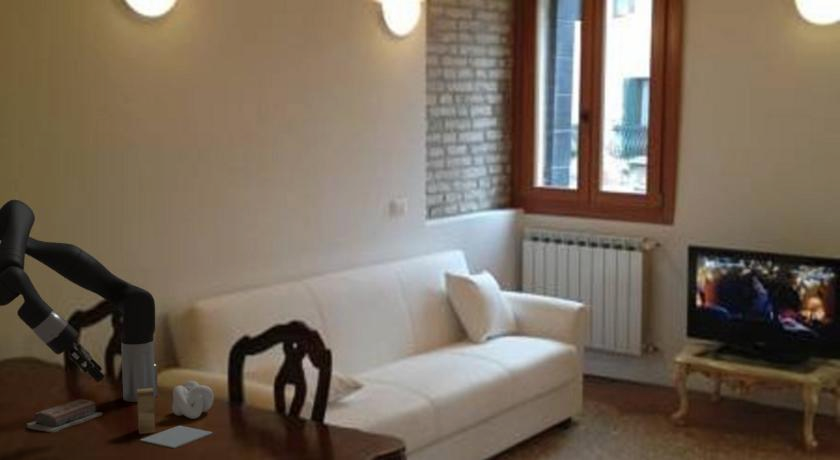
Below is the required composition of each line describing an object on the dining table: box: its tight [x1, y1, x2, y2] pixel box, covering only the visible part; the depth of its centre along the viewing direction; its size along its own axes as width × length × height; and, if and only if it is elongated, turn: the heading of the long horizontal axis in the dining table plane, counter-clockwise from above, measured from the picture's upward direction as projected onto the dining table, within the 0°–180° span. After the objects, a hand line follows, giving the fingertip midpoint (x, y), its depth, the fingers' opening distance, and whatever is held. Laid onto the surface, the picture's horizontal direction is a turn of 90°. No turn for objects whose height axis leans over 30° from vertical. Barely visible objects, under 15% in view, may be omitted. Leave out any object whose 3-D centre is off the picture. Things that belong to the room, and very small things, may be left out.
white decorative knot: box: [171, 380, 215, 420], centre depth 284 cm, size 11×12×9 cm
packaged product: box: [26, 398, 103, 433], centre depth 278 cm, size 18×5×10 cm
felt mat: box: [139, 425, 214, 449], centre depth 263 cm, size 14×12×1 cm
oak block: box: [137, 388, 156, 435], centre depth 268 cm, size 4×4×11 cm
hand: (100, 375), depth 263 cm, fingers open, 8 cm apart
